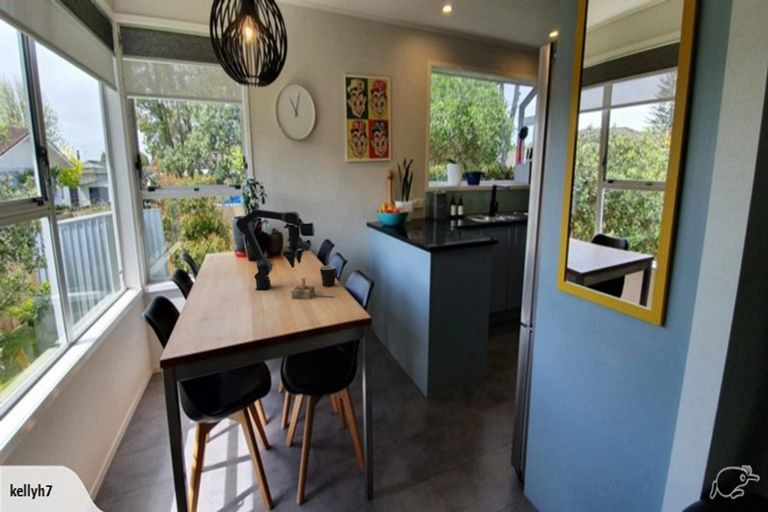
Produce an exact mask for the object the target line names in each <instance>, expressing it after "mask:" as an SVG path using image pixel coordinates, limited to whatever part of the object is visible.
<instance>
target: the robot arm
mask: <svg viewBox="0 0 768 512" xmlns="http://www.w3.org/2000/svg"><path fill="white" fill-rule="evenodd" d="M258 218H261V219H271V220H275V221H276V220H277V221H282V222H284V223H285V225H284V226H283V228H284V229H287V230H288V231H287V233H288V238H287V242H288V244H289V246H288V247H287V248H286V249H284V251H282V256H283V257H284V258H285V259H286V260H287V262H288V263H289V265H290V267H291V268H292V269H294V268H295V263H296V260H297V263H298V264H301V261H302V257H303V253H304V252H305V251H306V252H308V251H310V250H311V247H313V244H312V241H311V239H307V240H303V238H302V237H315V226H314V223H313V222H306V223H304V221H303V220H302V219H301V217H300V214H299V213H298V212H297V211H283V212H281V211H276V210H275V211H274V210H269V209H268V210H267V209H266V210H265V209H260V208H255V209H253V210H252V211H251V212H249V213H248V214H247V215H245V216H243V217H240V218H238V219H237V220H236V222H235V224H236V227H237V229H238V230H239V231H240V232H241V233H242V234H243V236H244V238H245V239H246V241H247V244H248V246H249V248H250V249H251V252H252V254H253V256H254V258H255V260H256V261H255V262H256V269H257V273H256V274H255V275H254V279H255V283H256V284H255V286H256V288H255V291H268V290H269V289H270V288H272V283H271V279H270V273H271V272H273V271H272V270H273V266H274V265H273V263H272V262H271V261H272V260H271V258H267V257H266V256H265V254H264V253H263V250H262V248H261V246H260V244H259V242H258V239H257V237H256V235H255V232H254V225H253V222H254V221H255V220H256V219H258ZM301 236H302V237H301Z"/></svg>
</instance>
